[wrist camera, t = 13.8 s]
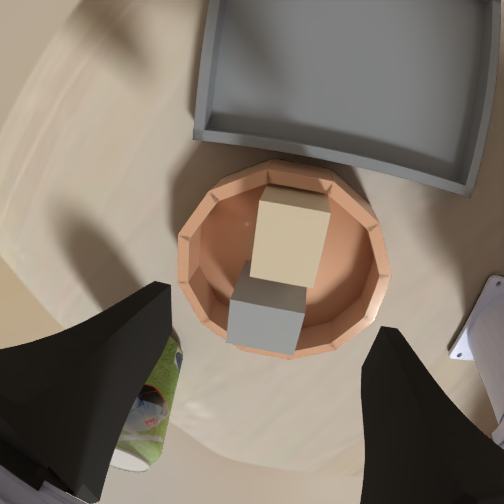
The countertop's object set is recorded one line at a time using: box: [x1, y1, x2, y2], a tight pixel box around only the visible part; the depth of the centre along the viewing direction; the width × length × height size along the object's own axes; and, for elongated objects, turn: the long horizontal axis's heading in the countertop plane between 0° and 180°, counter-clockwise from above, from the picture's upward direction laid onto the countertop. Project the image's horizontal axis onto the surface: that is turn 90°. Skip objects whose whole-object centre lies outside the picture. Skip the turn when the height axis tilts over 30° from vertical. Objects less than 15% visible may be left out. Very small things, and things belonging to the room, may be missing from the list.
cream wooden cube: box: [250, 183, 331, 288], centre depth 17 cm, size 4×3×4 cm
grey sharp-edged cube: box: [226, 260, 307, 356], centre depth 20 cm, size 4×3×4 cm
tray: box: [193, 0, 501, 198], centre depth 14 cm, size 16×13×2 cm
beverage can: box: [109, 336, 183, 473], centre depth 22 cm, size 6×7×12 cm
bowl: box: [178, 159, 392, 360], centre depth 20 cm, size 12×12×3 cm
